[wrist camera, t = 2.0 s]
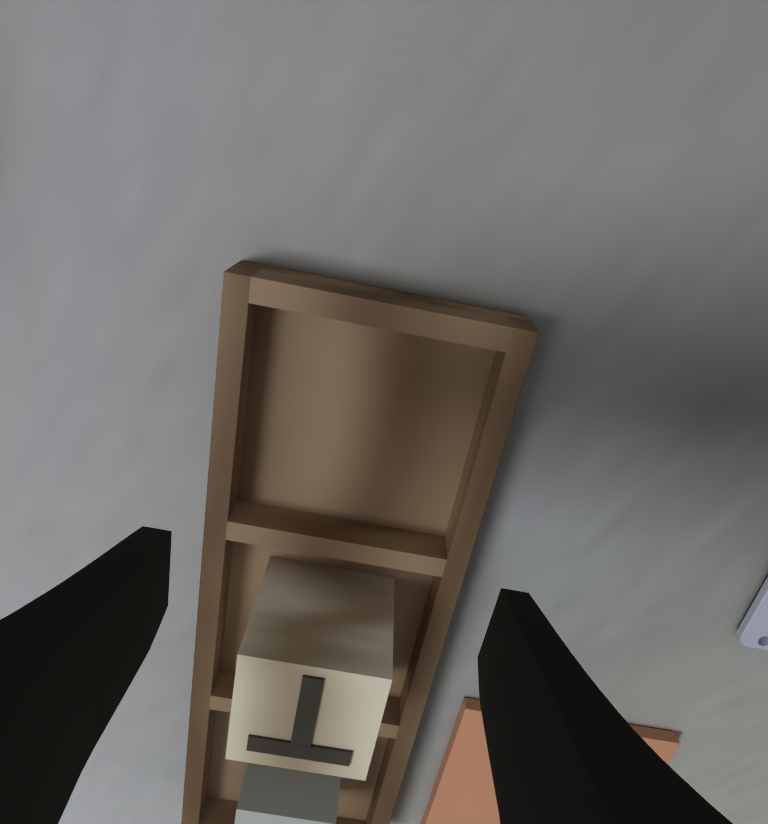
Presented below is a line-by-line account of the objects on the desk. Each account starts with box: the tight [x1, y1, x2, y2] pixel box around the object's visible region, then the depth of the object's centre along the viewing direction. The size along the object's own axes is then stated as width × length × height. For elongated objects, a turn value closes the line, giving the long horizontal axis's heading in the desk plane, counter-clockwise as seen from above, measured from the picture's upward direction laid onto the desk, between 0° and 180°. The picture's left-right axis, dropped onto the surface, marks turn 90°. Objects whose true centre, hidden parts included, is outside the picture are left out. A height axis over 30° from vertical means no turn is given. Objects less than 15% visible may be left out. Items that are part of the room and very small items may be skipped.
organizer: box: [181, 261, 539, 824], centre depth 24 cm, size 10×27×2 cm, turn 169°
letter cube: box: [225, 556, 395, 781], centre depth 22 cm, size 5×5×5 cm
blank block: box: [234, 763, 341, 824], centre depth 26 cm, size 4×4×4 cm
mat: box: [421, 697, 680, 824], centre depth 29 cm, size 10×10×1 cm
